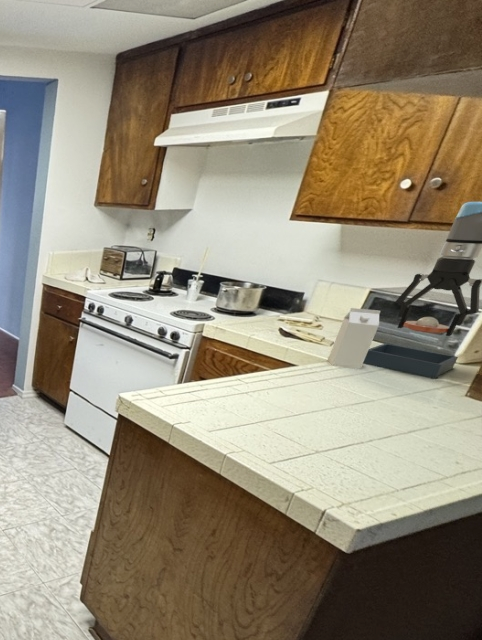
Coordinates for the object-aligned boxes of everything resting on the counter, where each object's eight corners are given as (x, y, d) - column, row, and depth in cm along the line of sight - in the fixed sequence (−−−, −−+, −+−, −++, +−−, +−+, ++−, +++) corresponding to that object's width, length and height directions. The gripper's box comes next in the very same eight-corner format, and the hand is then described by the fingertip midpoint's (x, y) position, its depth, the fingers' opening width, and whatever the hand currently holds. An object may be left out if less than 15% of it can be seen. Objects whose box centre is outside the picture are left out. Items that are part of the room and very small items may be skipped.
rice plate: (451, 333, 145) (458, 318, 143) (441, 337, 140) (449, 322, 138) (406, 326, 153) (412, 312, 151) (396, 330, 148) (402, 315, 146)
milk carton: (327, 360, 161) (348, 306, 154) (354, 364, 158) (377, 308, 151) (331, 366, 156) (354, 309, 148) (360, 370, 152) (384, 312, 145)
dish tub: (450, 371, 153) (458, 356, 151) (433, 380, 144) (441, 364, 142) (379, 356, 167) (385, 343, 165) (360, 364, 158) (366, 349, 156)
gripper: (400, 254, 145) (371, 324, 153) (514, 262, 127) (474, 341, 135) (408, 253, 148) (379, 322, 157) (519, 261, 131) (481, 338, 139)
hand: (423, 331), depth 146 cm, fingers closed on rice plate, 10 cm apart
